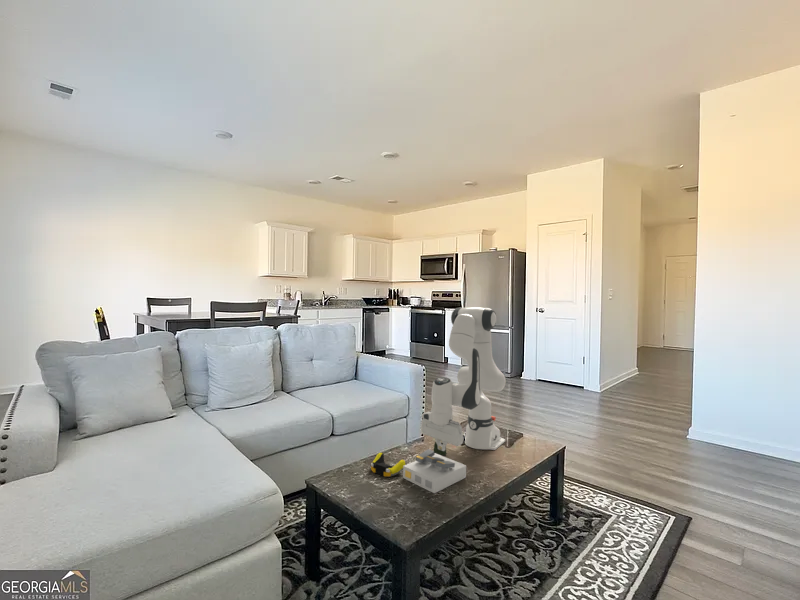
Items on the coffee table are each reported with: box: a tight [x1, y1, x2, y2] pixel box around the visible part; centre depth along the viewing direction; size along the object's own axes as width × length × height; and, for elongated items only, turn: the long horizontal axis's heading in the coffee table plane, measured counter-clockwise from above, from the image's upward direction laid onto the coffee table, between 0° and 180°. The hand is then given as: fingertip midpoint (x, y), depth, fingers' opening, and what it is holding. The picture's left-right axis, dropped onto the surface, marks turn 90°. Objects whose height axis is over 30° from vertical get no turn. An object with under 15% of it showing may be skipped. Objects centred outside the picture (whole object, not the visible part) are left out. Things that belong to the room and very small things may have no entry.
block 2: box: [436, 461, 455, 468], centre depth 160 cm, size 8×3×2 cm, turn 134°
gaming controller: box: [370, 452, 407, 478], centre depth 169 cm, size 15×6×10 cm
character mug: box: [432, 437, 447, 456], centre depth 188 cm, size 11×7×13 cm, turn 47°
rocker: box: [426, 456, 444, 463], centre depth 164 cm, size 8×3×2 cm, turn 134°
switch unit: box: [402, 453, 467, 494], centre depth 164 cm, size 20×17×6 cm
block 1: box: [415, 448, 435, 463], centre depth 168 cm, size 8×3×2 cm, turn 134°
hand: (441, 449), depth 167 cm, fingers closed
